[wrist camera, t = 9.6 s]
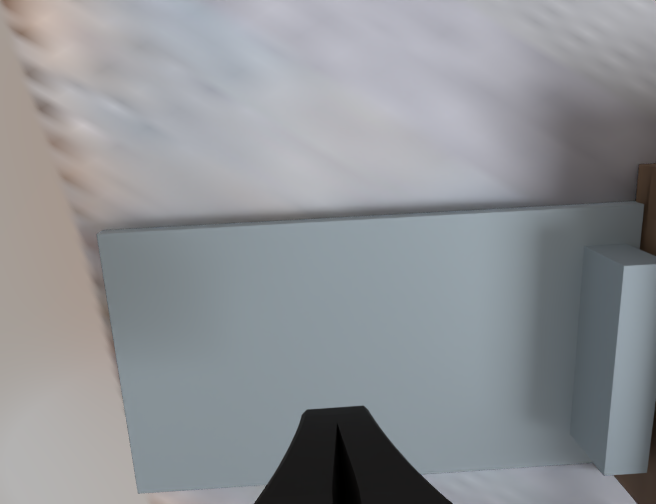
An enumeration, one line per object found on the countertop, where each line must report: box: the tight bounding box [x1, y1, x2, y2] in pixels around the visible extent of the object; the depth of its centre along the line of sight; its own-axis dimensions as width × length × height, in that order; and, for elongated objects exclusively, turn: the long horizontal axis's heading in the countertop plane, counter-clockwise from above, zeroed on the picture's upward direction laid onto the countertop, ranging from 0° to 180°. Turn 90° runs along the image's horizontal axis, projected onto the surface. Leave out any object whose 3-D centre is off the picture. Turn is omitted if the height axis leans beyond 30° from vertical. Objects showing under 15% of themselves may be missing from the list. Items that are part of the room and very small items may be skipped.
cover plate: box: [97, 201, 656, 494], centre depth 16 cm, size 15×8×3 cm, turn 93°
